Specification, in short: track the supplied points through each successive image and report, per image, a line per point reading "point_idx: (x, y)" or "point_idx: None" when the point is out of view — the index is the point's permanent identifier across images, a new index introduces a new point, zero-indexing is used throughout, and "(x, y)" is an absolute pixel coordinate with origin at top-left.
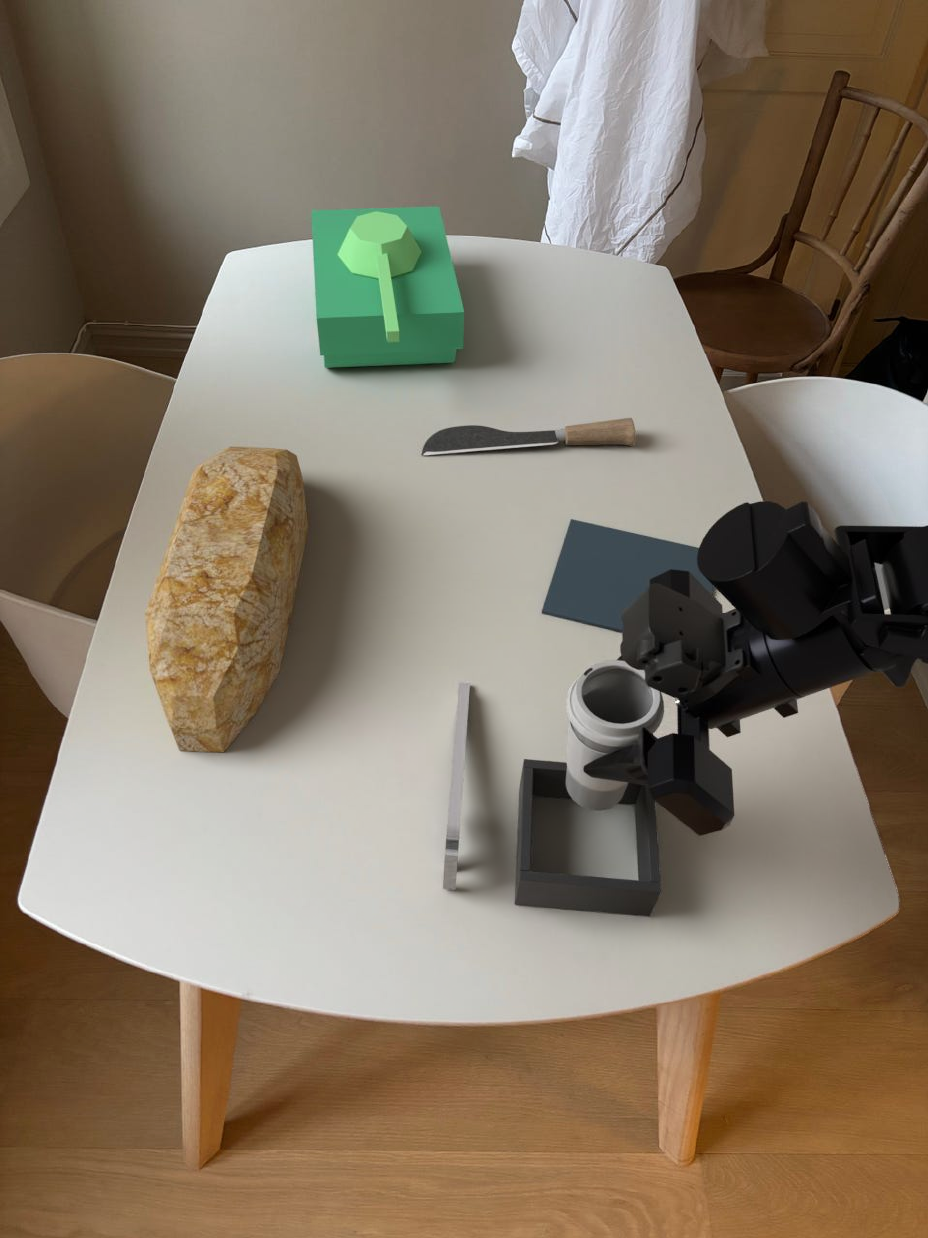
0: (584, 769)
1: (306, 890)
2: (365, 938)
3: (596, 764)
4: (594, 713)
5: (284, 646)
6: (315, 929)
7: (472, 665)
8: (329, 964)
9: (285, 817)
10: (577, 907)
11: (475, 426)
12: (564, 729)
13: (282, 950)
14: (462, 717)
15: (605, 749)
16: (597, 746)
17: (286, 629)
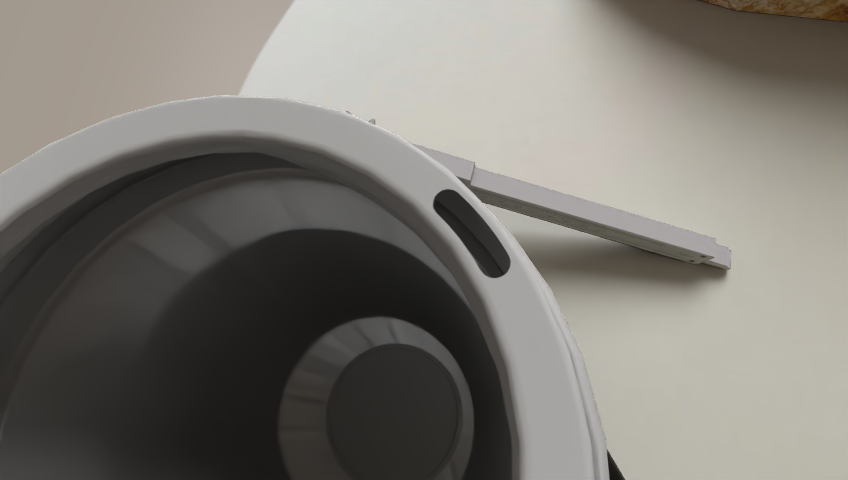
0: None
1: (390, 36)
2: (317, 87)
3: None
4: (486, 415)
5: (786, 13)
6: (342, 43)
7: (779, 284)
8: (299, 54)
9: (490, 17)
10: None
11: None
12: (621, 432)
13: (328, 15)
14: (637, 225)
15: (128, 322)
16: (149, 285)
17: (822, 8)
